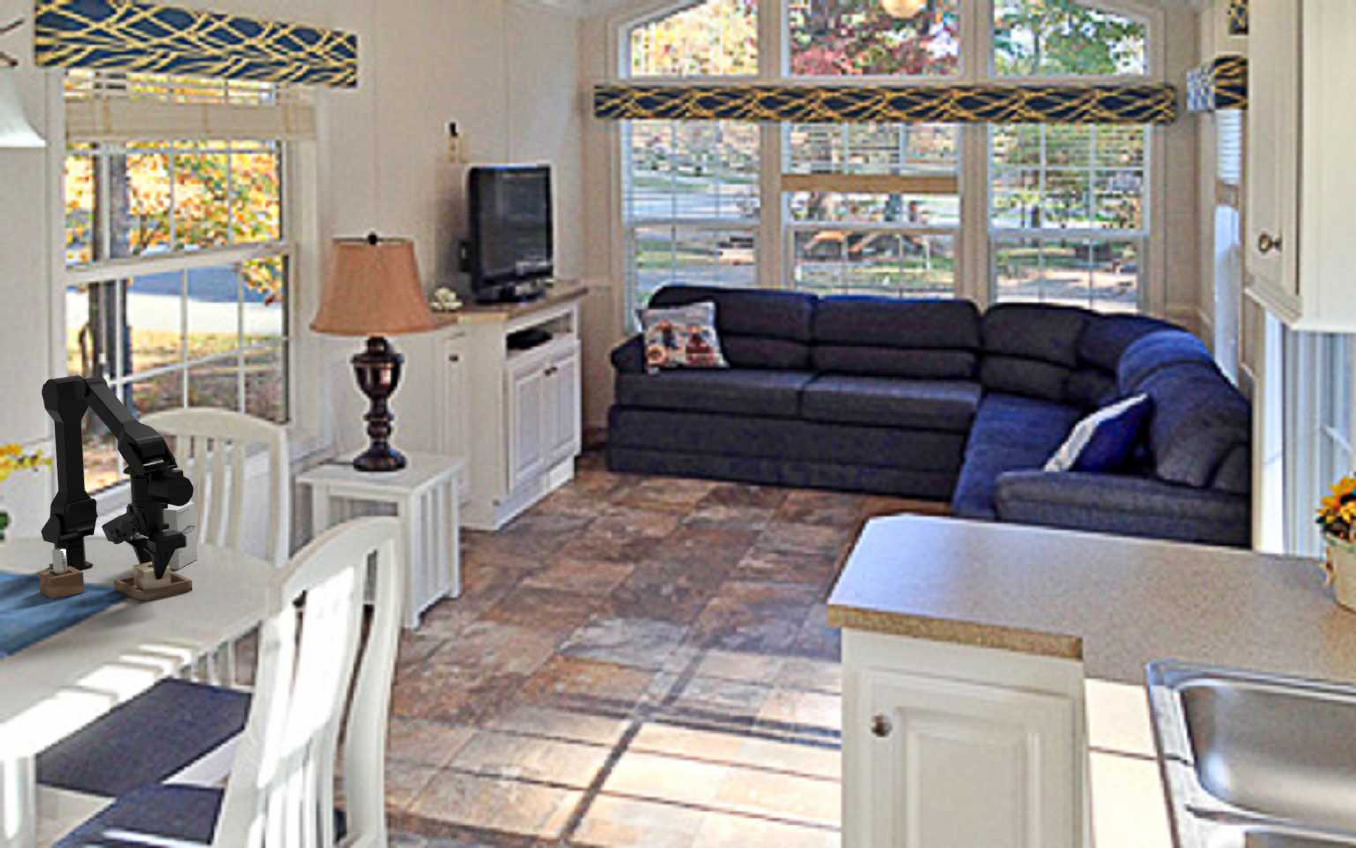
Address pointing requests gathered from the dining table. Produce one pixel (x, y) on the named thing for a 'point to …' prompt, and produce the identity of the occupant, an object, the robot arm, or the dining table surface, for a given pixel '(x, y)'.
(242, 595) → the dining table surface
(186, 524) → the supplement box
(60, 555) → the cylinder
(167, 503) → the robot arm
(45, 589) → the brown square socket
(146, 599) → the tray
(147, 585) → the maple block
